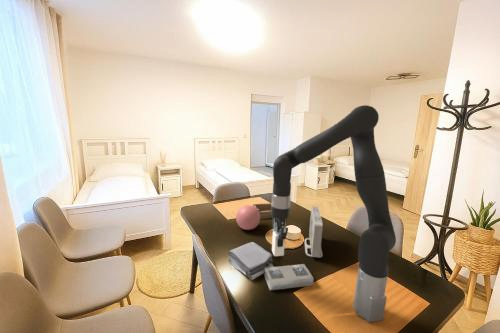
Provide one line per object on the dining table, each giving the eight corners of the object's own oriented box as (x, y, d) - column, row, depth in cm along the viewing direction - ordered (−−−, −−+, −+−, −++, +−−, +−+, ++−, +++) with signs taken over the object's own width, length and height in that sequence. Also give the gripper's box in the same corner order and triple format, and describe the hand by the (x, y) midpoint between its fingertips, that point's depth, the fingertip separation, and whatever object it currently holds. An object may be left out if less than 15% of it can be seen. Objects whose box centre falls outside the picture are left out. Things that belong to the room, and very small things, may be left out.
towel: (250, 251, 120) (251, 238, 118) (275, 269, 106) (276, 254, 104) (226, 262, 111) (227, 247, 109) (250, 283, 97) (250, 267, 95)
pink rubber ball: (268, 226, 149) (269, 204, 146) (248, 237, 135) (249, 212, 132) (251, 219, 159) (251, 198, 156) (230, 228, 144) (231, 206, 141)
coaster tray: (279, 217, 163) (279, 211, 162) (257, 219, 160) (257, 212, 159) (272, 209, 179) (273, 203, 178) (252, 210, 176) (253, 204, 175)
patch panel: (312, 286, 96) (313, 277, 95) (269, 291, 92) (270, 282, 91) (303, 271, 105) (304, 263, 104) (263, 275, 101) (264, 267, 100)
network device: (323, 262, 112) (327, 225, 108) (305, 260, 114) (309, 223, 110) (318, 237, 136) (322, 206, 133) (304, 235, 138) (306, 205, 134)
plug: (283, 255, 93) (285, 233, 91) (274, 256, 92) (275, 234, 91) (280, 250, 97) (282, 229, 95) (271, 250, 96) (272, 229, 94)
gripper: (296, 211, 84) (292, 252, 88) (283, 198, 98) (281, 234, 101) (277, 212, 83) (274, 254, 86) (267, 198, 97) (265, 235, 100)
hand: (278, 243), depth 94 cm, fingers closed on plug, 4 cm apart
